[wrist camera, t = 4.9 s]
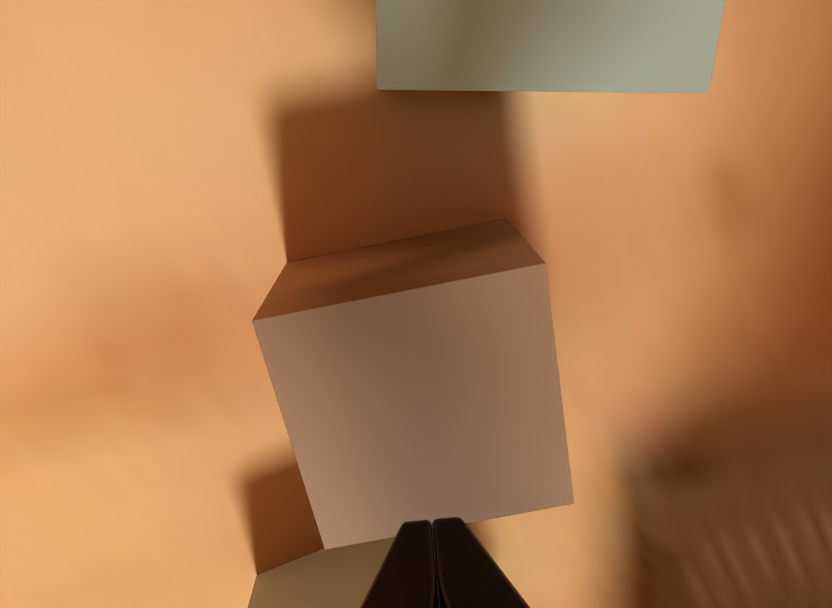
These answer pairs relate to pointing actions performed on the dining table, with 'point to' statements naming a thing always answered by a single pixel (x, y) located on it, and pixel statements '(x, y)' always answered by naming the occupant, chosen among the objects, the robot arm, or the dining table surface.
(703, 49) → the grey-green block
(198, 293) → the dining table surface
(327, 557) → the dotted block two
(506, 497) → the walnut block
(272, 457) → the dining table surface
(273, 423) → the dining table surface
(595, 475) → the dining table surface
